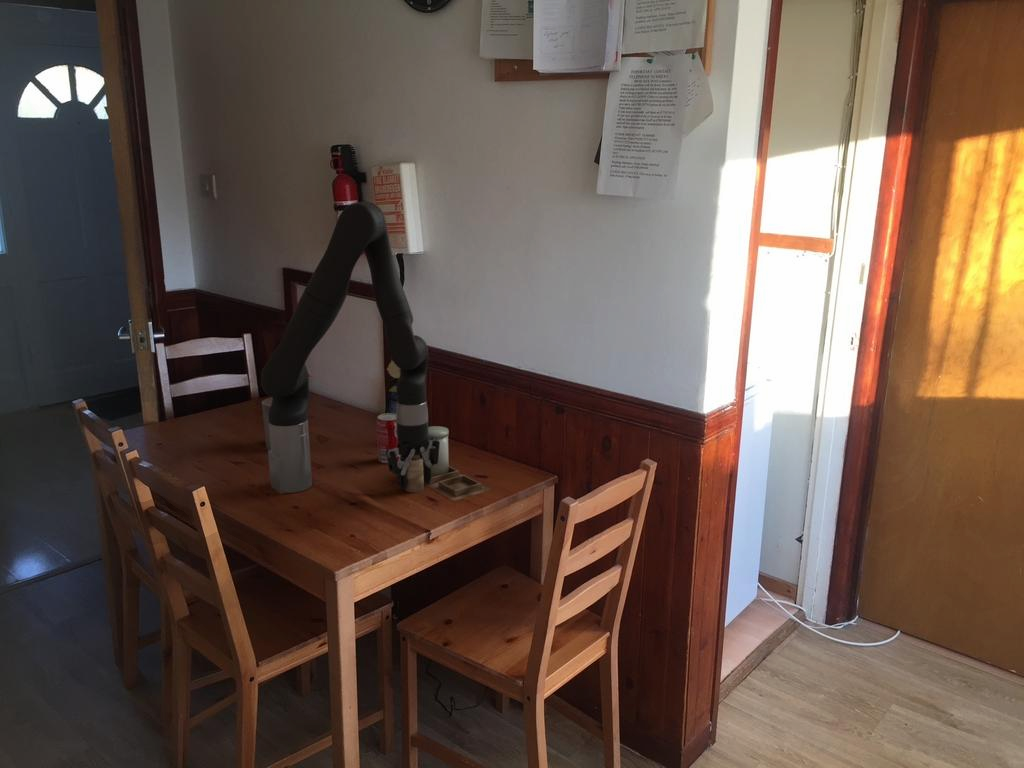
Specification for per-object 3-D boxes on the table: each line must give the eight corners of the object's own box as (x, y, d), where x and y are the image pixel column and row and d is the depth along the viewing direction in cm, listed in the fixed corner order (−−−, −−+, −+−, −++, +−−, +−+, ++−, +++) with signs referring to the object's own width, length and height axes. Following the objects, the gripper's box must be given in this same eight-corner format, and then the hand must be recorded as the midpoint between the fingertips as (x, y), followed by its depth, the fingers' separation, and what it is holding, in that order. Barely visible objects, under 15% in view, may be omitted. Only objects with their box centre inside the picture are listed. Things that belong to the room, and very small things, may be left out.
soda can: (399, 468, 223) (398, 421, 220) (374, 466, 224) (371, 419, 221) (408, 458, 230) (406, 413, 226) (383, 457, 231) (381, 411, 228)
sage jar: (431, 482, 210) (430, 436, 207) (416, 474, 216) (415, 429, 213) (454, 476, 214) (454, 431, 211) (439, 468, 220) (438, 424, 217)
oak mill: (411, 497, 204) (410, 458, 201) (402, 492, 207) (400, 452, 204) (427, 493, 206) (426, 454, 204) (417, 487, 210) (416, 449, 207)
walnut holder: (453, 504, 199) (453, 494, 199) (406, 477, 216) (405, 468, 216) (491, 493, 206) (491, 484, 205) (442, 468, 223) (442, 459, 222)
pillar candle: (296, 438, 246) (291, 389, 242) (305, 448, 238) (300, 397, 234) (262, 444, 241) (257, 394, 237) (270, 454, 233) (265, 402, 229)
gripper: (393, 429, 195) (396, 496, 199) (446, 417, 203) (447, 482, 207) (378, 421, 200) (381, 487, 205) (429, 410, 209) (431, 474, 213)
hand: (414, 484), depth 206 cm, fingers open, 6 cm apart
